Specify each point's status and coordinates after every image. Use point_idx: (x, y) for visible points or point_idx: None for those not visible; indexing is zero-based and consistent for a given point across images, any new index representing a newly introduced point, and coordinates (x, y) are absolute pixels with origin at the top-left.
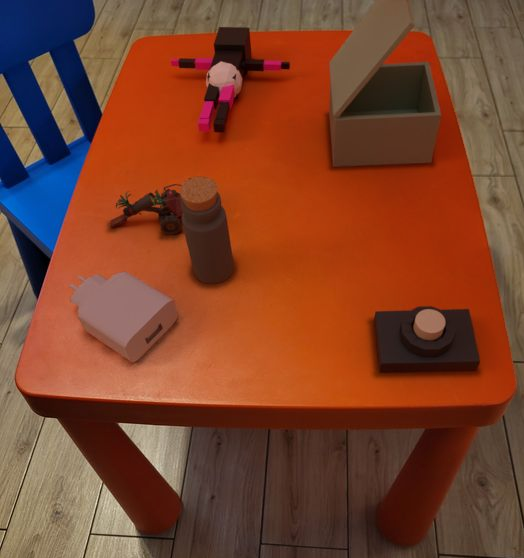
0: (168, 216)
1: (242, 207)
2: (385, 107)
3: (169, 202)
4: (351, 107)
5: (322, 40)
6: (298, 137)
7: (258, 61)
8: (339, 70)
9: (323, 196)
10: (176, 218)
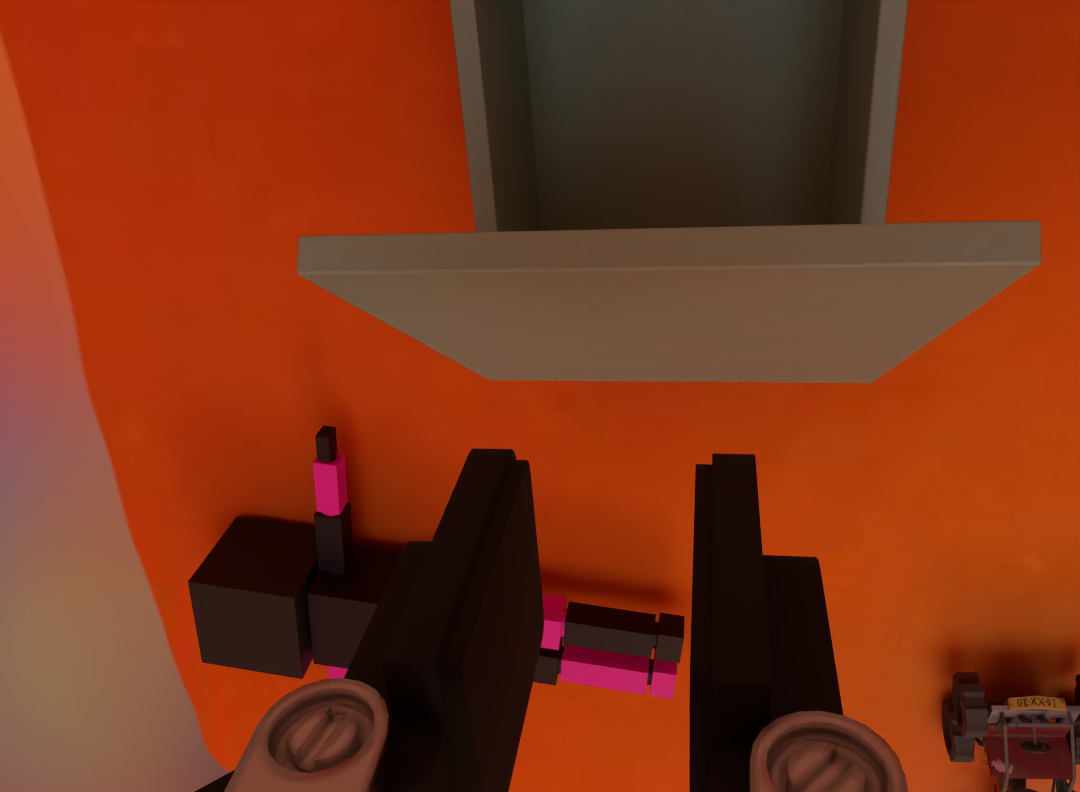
0: (1076, 756)
1: (996, 548)
2: (525, 64)
3: (1053, 772)
4: (534, 209)
5: (85, 286)
6: (661, 382)
7: (328, 532)
8: (623, 372)
9: (999, 311)
10: (1075, 733)
